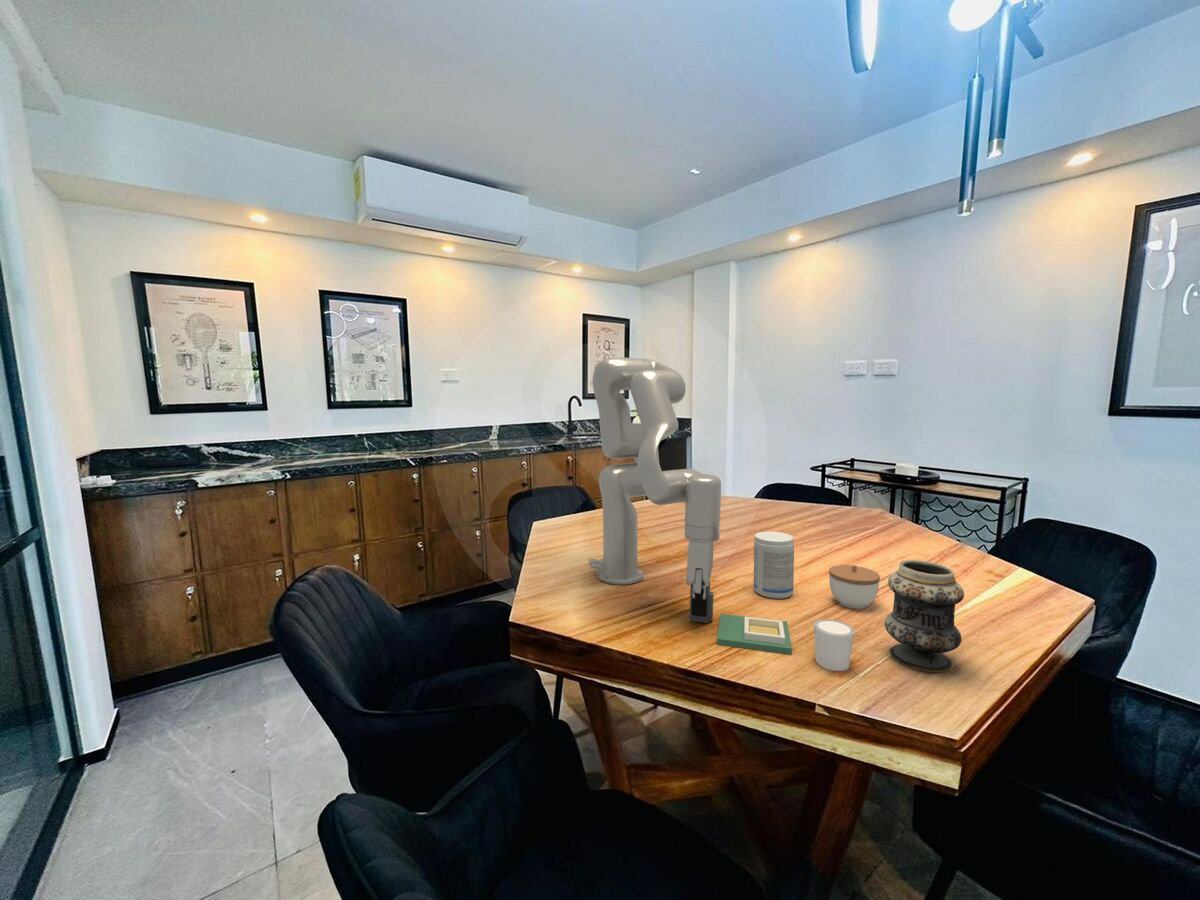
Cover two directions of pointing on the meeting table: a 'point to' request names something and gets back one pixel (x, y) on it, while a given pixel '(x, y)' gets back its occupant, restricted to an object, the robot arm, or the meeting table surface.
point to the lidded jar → (853, 585)
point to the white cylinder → (833, 644)
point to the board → (754, 633)
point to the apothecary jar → (924, 615)
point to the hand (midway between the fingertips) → (699, 610)
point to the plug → (709, 606)
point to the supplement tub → (773, 564)
